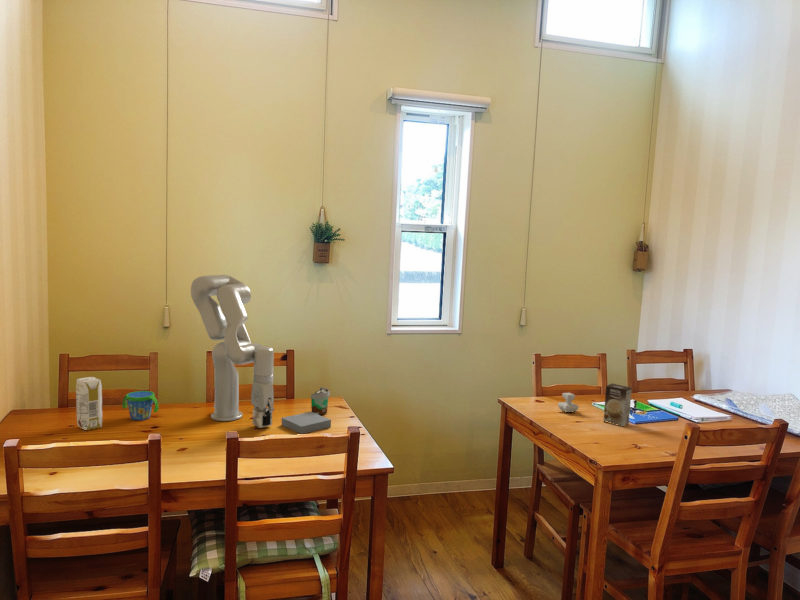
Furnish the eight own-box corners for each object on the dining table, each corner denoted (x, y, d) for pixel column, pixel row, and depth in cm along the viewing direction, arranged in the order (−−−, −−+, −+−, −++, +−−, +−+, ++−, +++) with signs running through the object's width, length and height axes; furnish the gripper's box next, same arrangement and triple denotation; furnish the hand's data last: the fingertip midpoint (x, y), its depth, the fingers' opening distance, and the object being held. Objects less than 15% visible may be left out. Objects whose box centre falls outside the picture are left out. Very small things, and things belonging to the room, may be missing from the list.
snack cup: (165, 417, 244) (165, 393, 243) (145, 424, 234) (145, 399, 233) (135, 412, 249) (135, 388, 248) (115, 419, 239) (115, 394, 238)
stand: (281, 425, 238) (281, 417, 238) (310, 418, 248) (310, 411, 248) (301, 434, 228) (301, 426, 228) (330, 427, 238) (330, 419, 237)
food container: (324, 418, 249) (324, 395, 248) (310, 417, 250) (310, 393, 249) (333, 410, 261) (333, 387, 260) (320, 409, 262) (320, 386, 261)
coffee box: (602, 422, 255) (604, 385, 254) (608, 419, 260) (611, 383, 258) (623, 427, 249) (626, 389, 247) (629, 424, 254) (632, 387, 252)
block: (252, 423, 235) (252, 409, 235) (264, 421, 239) (265, 406, 239) (259, 427, 232) (259, 412, 231) (271, 425, 235) (272, 410, 235)
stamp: (563, 414, 265) (564, 396, 264) (555, 410, 271) (556, 392, 270) (580, 413, 267) (581, 395, 266) (572, 409, 274) (573, 391, 273)
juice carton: (83, 432, 223) (82, 382, 221) (75, 427, 229) (73, 378, 227) (104, 428, 228) (103, 379, 227) (95, 422, 234) (94, 375, 232)
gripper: (243, 374, 237) (242, 419, 239) (266, 384, 224) (265, 431, 227) (260, 372, 242) (259, 415, 244) (283, 381, 230) (282, 427, 232)
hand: (262, 422), depth 235 cm, fingers closed on block, 5 cm apart
